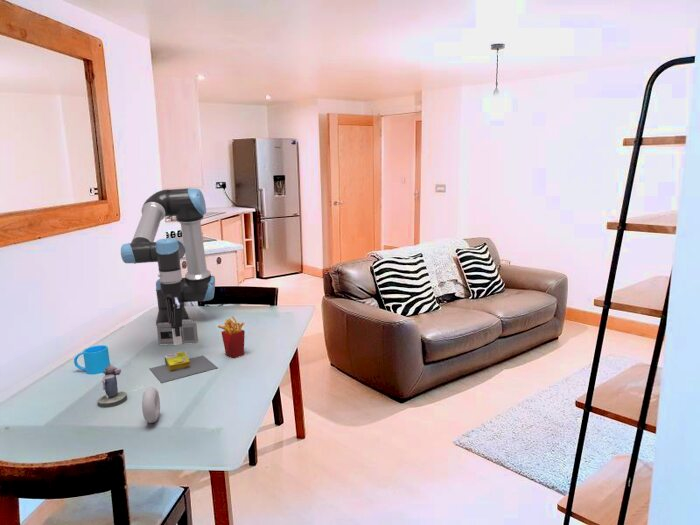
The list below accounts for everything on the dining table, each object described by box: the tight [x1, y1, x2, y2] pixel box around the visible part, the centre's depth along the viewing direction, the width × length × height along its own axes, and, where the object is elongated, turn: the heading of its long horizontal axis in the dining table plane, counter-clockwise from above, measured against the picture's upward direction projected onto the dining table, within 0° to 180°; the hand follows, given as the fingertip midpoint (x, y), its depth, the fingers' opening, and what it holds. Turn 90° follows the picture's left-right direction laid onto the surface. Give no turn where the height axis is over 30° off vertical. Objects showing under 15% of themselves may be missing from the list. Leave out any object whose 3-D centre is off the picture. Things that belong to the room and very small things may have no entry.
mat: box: [149, 354, 218, 384], centre depth 182 cm, size 16×20×1 cm
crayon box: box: [164, 351, 190, 371], centre depth 184 cm, size 7×3×12 cm
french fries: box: [217, 316, 246, 359], centre depth 192 cm, size 9×8×15 cm
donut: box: [141, 386, 161, 424], centre depth 143 cm, size 10×3×10 cm, turn 11°
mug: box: [73, 344, 111, 375], centre depth 183 cm, size 12×8×8 cm
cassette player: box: [156, 318, 199, 345], centre depth 209 cm, size 16×3×10 cm, turn 93°
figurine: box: [96, 365, 128, 409], centre depth 156 cm, size 8×8×12 cm
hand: (177, 343), depth 183 cm, fingers closed
